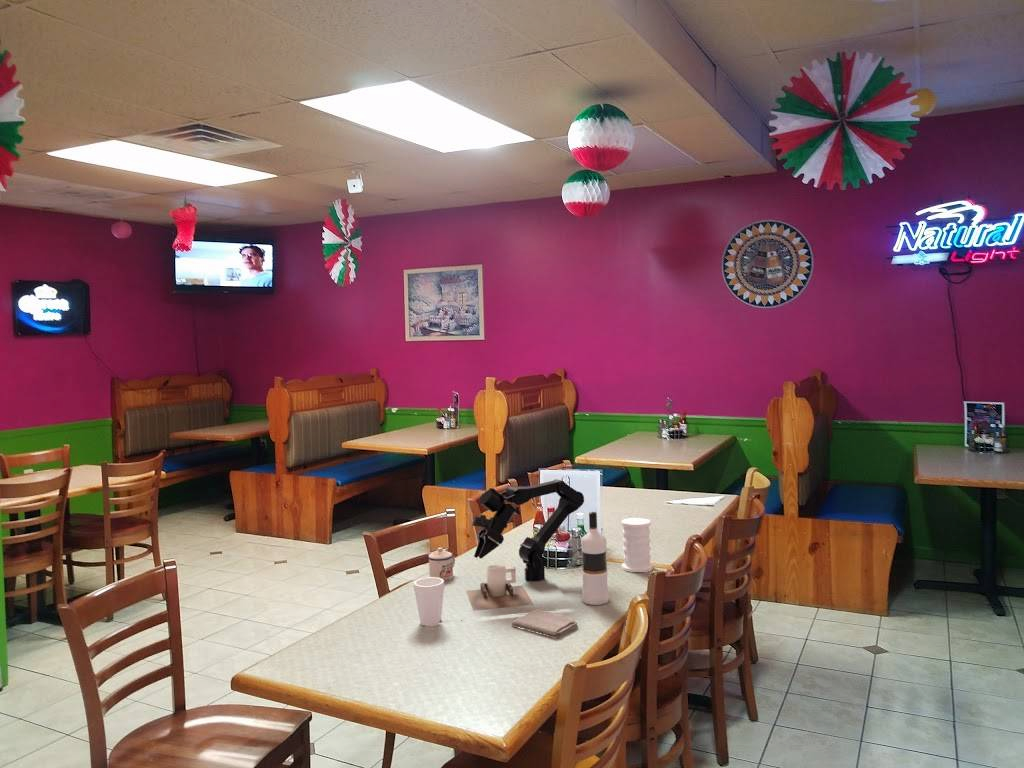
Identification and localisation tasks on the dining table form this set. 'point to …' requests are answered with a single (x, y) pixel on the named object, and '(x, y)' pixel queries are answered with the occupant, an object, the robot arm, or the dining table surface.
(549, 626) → the washcloth
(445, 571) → the teacup with lid
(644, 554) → the decorative container
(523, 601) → the dock
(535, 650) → the dining table surface
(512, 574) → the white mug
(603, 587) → the vodka
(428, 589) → the foam cup
